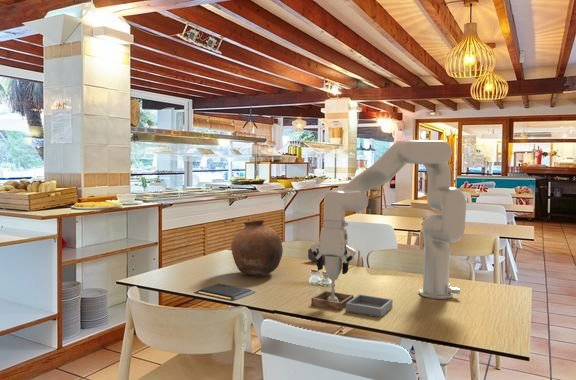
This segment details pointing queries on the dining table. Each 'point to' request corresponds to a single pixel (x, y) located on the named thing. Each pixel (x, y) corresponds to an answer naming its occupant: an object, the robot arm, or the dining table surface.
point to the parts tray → (369, 305)
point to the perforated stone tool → (312, 257)
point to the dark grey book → (225, 292)
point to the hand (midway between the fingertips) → (332, 271)
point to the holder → (331, 304)
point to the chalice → (333, 272)
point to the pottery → (256, 249)
